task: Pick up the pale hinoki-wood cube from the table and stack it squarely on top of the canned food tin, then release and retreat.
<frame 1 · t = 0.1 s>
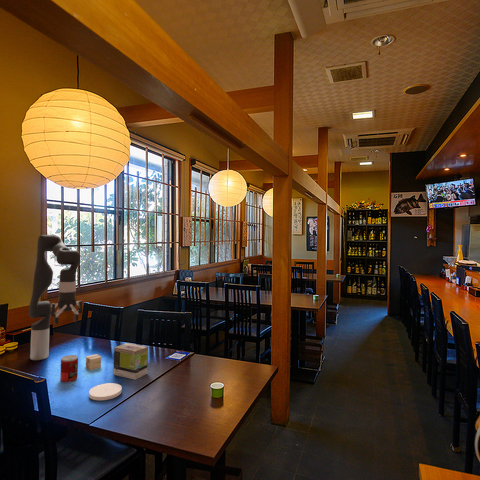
hand: (66, 323, 161), 29 cm above the table, fingers open, 8 cm apart
block: (93, 367, 181), on the table
canned food: (68, 379, 164), on the table
plastic lid: (105, 395, 149), on the table
tea box: (130, 374, 173), on the table
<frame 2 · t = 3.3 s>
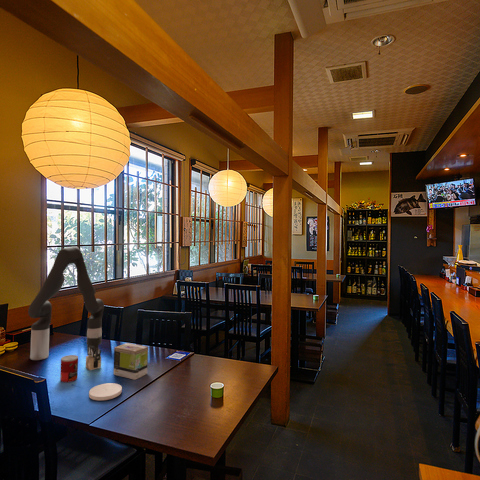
hand: (93, 365, 181), 1 cm above the table, fingers closed on block, 6 cm apart
block: (93, 367, 181), on the table, touching gripper
everything else where it was.
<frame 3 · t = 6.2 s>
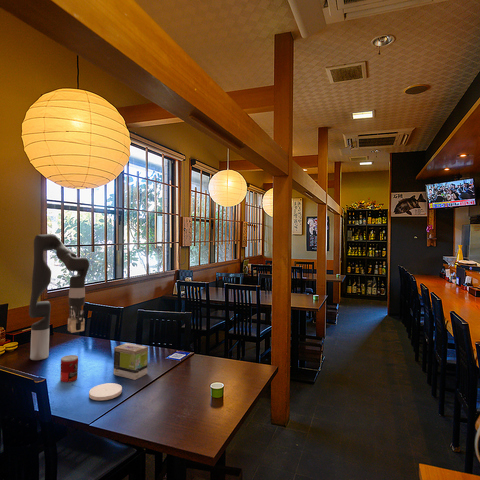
hand: (75, 328, 167), 25 cm above the table, fingers closed on block, 6 cm apart
block: (75, 330, 167), point 24 cm above the table, touching gripper
everything else where it was.
when the fingers open (13 cm above the table, at t = 9.1 s): block drops 1 cm, resting on canned food.
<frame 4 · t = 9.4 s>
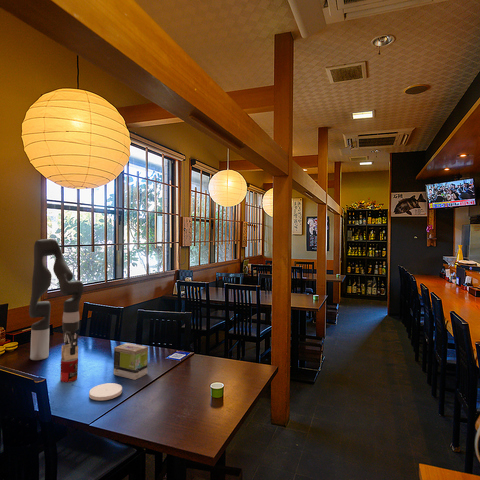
hand: (69, 352, 164), 14 cm above the table, fingers open, 8 cm apart
block: (69, 357, 164), point 11 cm above the table, touching canned food
canned food: (68, 379, 164), on the table, touching block
everything else where it was.
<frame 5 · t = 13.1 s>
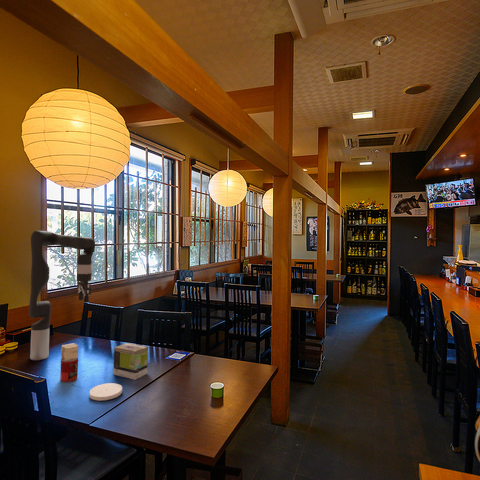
hand: (83, 301, 183), 36 cm above the table, fingers open, 8 cm apart
nothing on the table moved.
at the end: block inside the target area on the canned food (0.1 cm from its centre), point 11.2 cm above the canned food's base; block tilted 0°; the gripper is holding nothing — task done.
